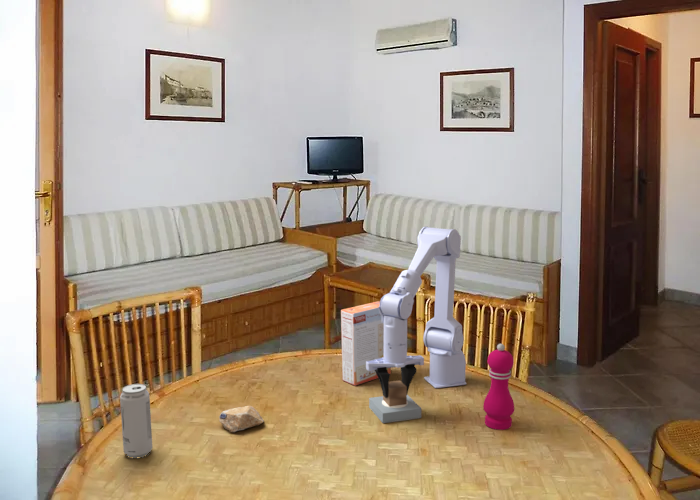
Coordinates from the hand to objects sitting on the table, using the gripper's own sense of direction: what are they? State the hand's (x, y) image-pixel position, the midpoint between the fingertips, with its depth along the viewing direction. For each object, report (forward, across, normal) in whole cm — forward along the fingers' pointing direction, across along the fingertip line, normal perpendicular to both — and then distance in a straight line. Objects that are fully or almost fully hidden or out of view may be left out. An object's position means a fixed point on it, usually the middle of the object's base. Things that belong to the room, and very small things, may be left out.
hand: (394, 395), depth 167 cm
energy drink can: (+5, -61, -3) cm, 61 cm away
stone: (+5, -37, +5) cm, 37 cm away
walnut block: (+2, 0, 0) cm, 2 cm away
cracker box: (+5, +1, +25) cm, 25 cm away
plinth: (+5, 0, 0) cm, 5 cm away
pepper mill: (+5, +21, -14) cm, 26 cm away
